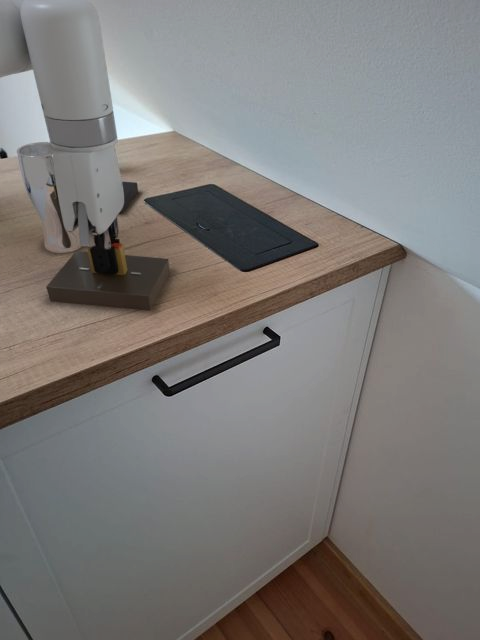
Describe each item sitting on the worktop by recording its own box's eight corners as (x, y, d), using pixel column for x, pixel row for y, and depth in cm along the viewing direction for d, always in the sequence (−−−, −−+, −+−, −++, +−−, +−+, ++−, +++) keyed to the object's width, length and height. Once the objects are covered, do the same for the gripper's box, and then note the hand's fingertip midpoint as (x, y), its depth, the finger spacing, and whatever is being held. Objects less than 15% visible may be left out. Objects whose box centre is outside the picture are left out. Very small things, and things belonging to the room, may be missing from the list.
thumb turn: (92, 272, 68) (86, 245, 65) (95, 267, 69) (89, 240, 66) (124, 275, 68) (119, 247, 65) (127, 270, 69) (123, 242, 66)
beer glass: (35, 242, 79) (7, 146, 70) (76, 230, 83) (55, 138, 73) (52, 259, 75) (25, 160, 66) (95, 246, 79) (75, 151, 69)
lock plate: (50, 302, 67) (45, 285, 65) (79, 265, 74) (75, 249, 72) (150, 311, 66) (148, 294, 64) (170, 273, 73) (168, 257, 72)
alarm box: (57, 210, 89) (52, 188, 86) (79, 189, 96) (75, 168, 94) (121, 215, 88) (118, 193, 85) (138, 193, 96) (135, 173, 93)
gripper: (75, 109, 62) (101, 240, 74) (19, 148, 50) (60, 297, 62) (133, 112, 62) (150, 244, 74) (90, 153, 50) (118, 302, 62)
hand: (109, 268), depth 68 cm, fingers closed
